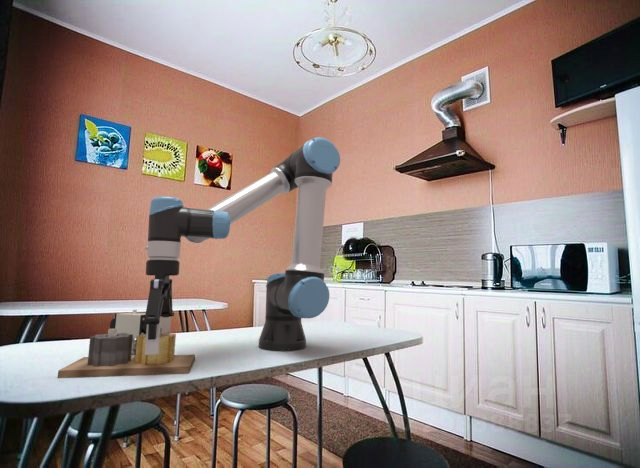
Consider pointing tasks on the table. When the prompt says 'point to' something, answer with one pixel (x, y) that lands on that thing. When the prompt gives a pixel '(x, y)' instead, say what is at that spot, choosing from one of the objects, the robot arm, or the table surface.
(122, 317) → the pneumatic valve
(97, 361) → the gear board
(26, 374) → the table surface
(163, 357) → the brass gear
